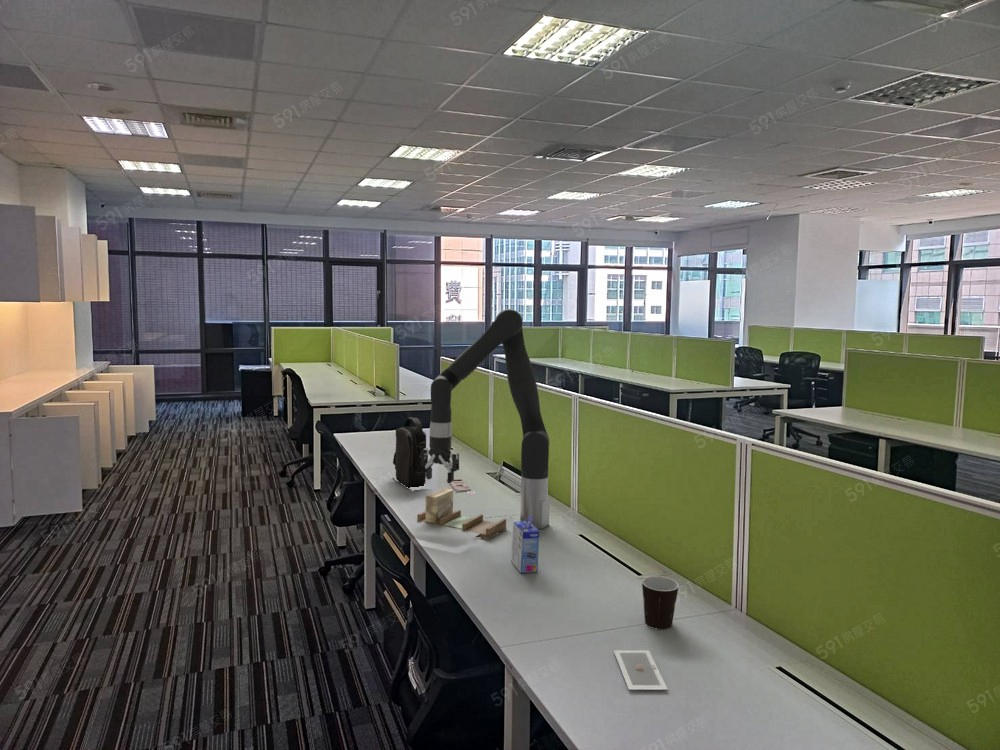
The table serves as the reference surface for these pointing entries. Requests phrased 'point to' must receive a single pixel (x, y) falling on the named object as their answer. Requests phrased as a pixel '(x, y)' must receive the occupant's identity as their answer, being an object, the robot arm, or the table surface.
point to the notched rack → (469, 524)
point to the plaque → (459, 489)
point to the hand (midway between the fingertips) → (439, 480)
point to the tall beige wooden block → (439, 505)
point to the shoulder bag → (410, 454)
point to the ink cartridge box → (525, 546)
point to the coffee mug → (659, 601)
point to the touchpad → (640, 670)
